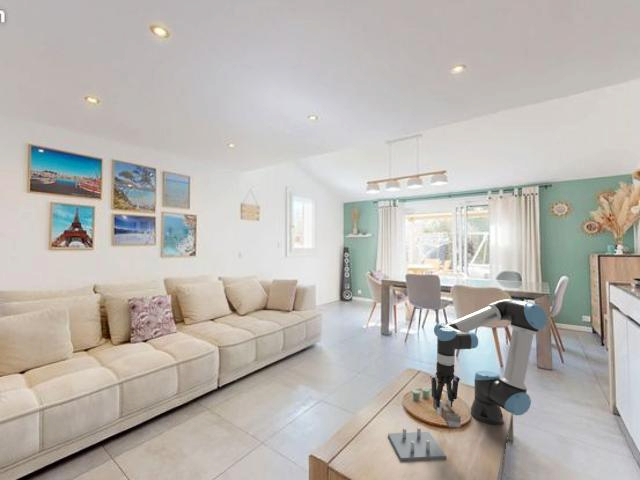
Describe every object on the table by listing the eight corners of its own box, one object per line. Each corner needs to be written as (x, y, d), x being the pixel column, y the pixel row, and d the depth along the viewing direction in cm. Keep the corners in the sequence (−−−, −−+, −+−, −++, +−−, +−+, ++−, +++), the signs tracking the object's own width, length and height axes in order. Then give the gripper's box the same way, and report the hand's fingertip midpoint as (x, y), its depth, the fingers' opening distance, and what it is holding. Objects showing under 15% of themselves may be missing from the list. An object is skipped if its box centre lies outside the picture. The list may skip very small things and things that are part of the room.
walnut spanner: (431, 407, 140) (432, 397, 140) (441, 407, 141) (441, 397, 141) (449, 427, 125) (449, 416, 125) (460, 427, 125) (460, 416, 126)
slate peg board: (428, 434, 140) (428, 423, 140) (446, 458, 124) (446, 446, 124) (388, 435, 138) (388, 424, 138) (400, 460, 122) (401, 448, 122)
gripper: (457, 359, 139) (456, 409, 139) (424, 359, 138) (422, 409, 137) (467, 366, 132) (465, 418, 131) (432, 365, 130) (430, 419, 130)
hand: (443, 413), depth 134 cm, fingers closed on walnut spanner, 3 cm apart
